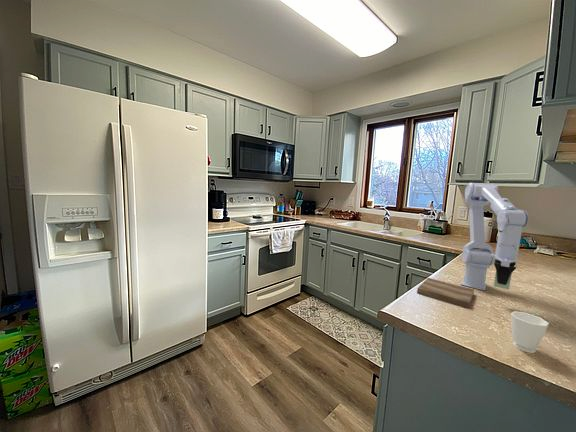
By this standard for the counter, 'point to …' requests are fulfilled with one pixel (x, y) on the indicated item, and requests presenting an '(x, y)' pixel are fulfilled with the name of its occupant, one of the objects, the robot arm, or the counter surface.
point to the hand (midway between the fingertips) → (501, 282)
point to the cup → (527, 331)
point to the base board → (446, 292)
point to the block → (502, 284)
